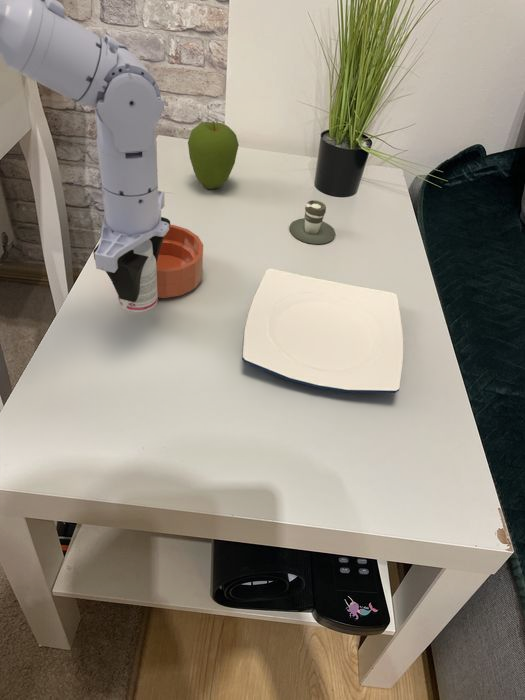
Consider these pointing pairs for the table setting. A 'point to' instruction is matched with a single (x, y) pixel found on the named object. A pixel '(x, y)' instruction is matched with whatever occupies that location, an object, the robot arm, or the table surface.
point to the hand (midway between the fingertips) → (137, 285)
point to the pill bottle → (144, 281)
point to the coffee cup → (313, 225)
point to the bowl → (179, 262)
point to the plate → (325, 334)
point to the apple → (212, 153)
